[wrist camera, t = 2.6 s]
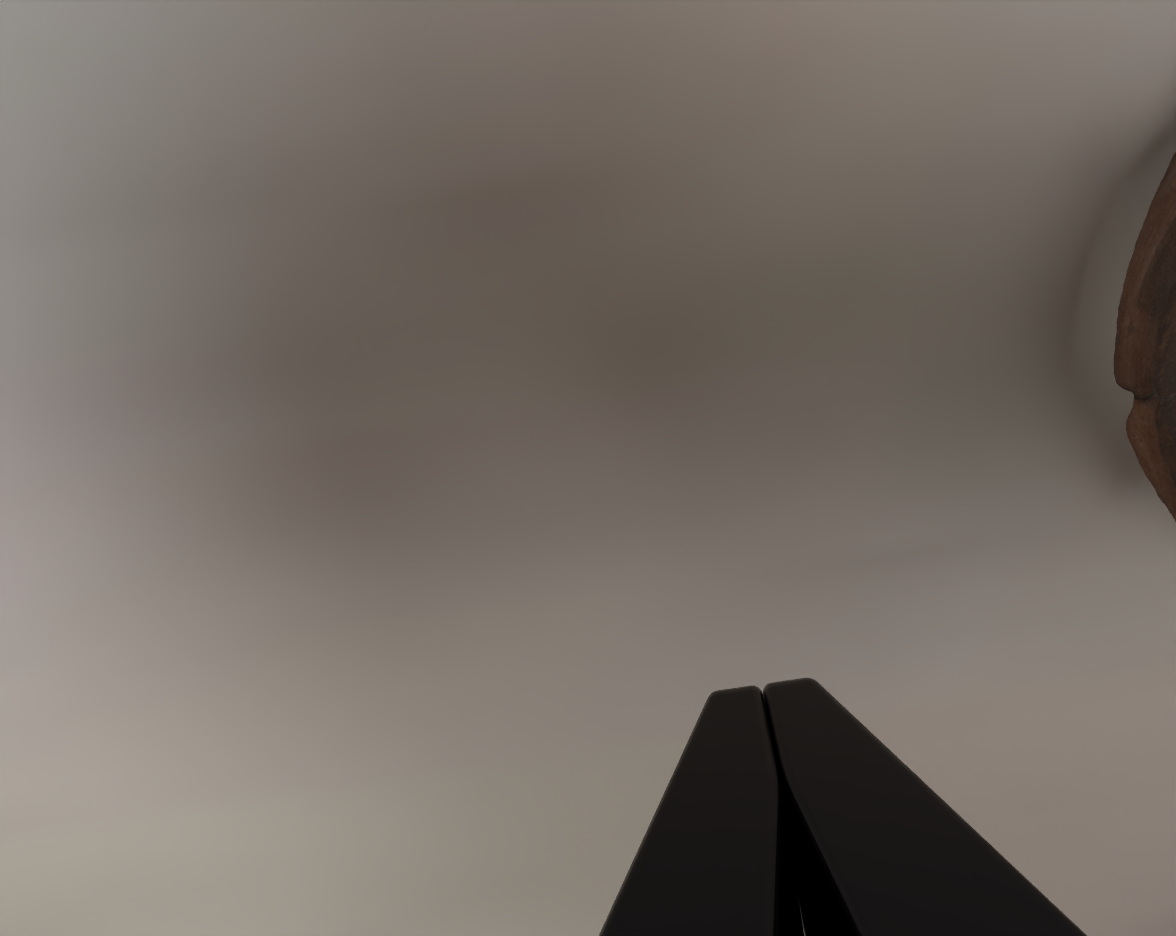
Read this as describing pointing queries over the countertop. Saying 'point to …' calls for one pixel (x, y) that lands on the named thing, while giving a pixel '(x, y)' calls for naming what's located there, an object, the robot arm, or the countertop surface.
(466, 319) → the countertop surface
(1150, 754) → the countertop surface
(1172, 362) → the pottery mug
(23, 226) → the countertop surface
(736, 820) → the robot arm
